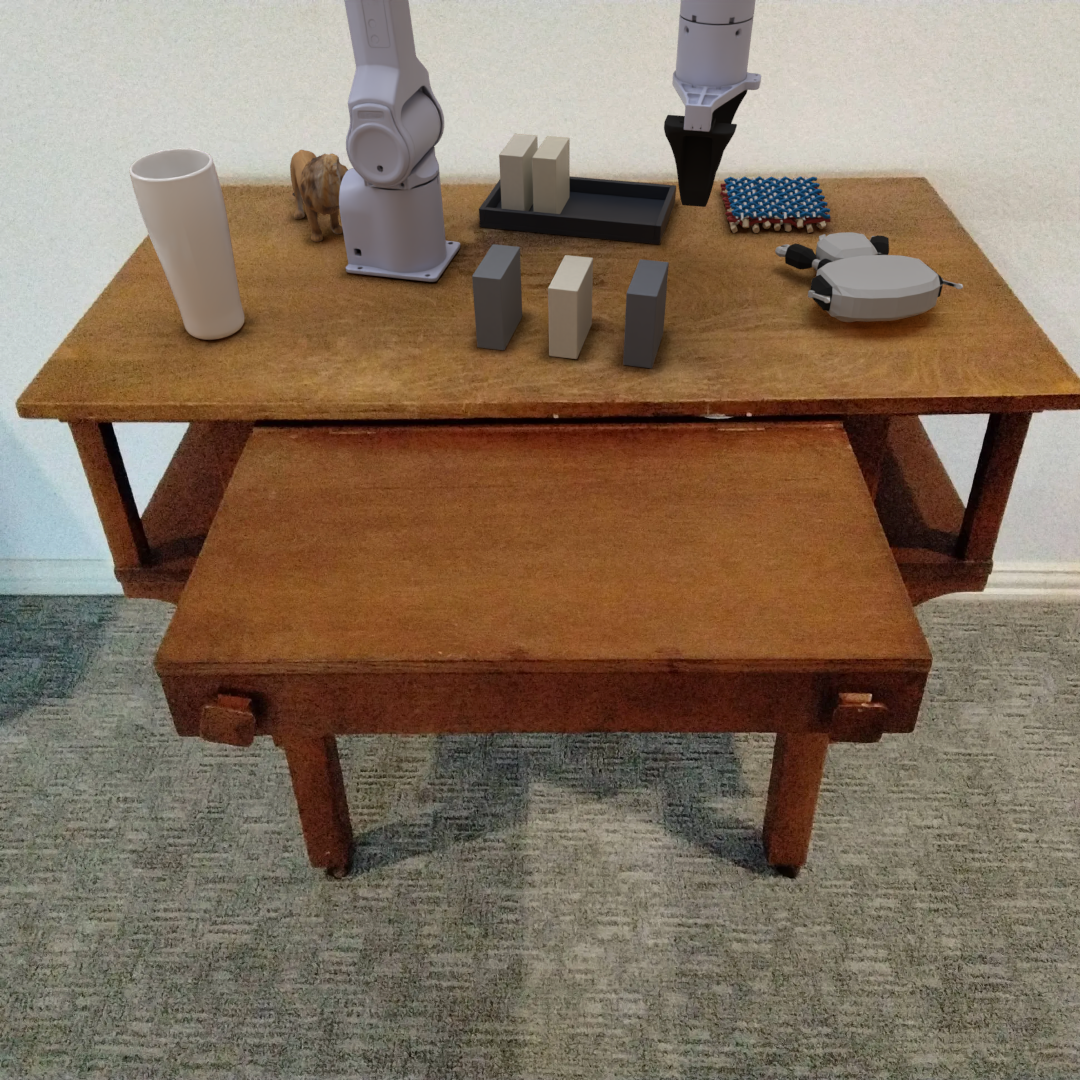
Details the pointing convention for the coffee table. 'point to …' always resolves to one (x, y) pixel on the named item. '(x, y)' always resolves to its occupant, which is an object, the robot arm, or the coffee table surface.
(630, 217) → the tray
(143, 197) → the drinking glass
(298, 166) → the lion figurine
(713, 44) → the robot arm
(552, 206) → the cream books on tray
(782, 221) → the woven mat
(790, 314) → the coffee table surface
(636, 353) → the grey books
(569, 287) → the cream rectangular block
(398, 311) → the coffee table surface
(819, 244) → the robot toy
